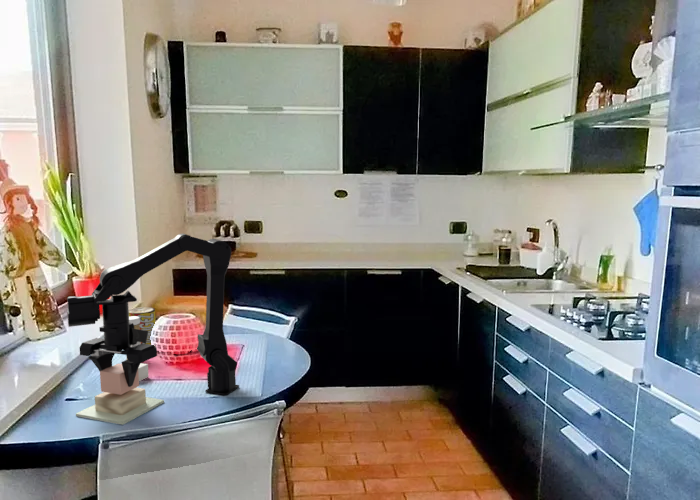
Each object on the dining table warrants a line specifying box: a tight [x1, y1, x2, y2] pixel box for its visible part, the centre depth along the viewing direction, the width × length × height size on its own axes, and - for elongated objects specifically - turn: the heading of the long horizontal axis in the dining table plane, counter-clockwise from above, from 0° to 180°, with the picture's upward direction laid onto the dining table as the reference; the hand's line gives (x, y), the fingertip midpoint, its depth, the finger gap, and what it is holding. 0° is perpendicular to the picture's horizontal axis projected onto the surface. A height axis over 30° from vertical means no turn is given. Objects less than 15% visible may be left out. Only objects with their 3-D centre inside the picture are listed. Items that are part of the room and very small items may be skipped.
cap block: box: [138, 362, 149, 382], centre depth 156 cm, size 4×4×4 cm
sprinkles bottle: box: [125, 316, 141, 360], centre depth 172 cm, size 5×5×14 cm
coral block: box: [99, 363, 140, 395], centre depth 135 cm, size 6×6×5 cm
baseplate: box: [75, 396, 165, 426], centre depth 136 cm, size 14×14×1 cm
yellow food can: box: [128, 306, 156, 345], centre depth 189 cm, size 9×9×12 cm
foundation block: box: [94, 387, 147, 415], centre depth 136 cm, size 8×8×4 cm
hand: (120, 384), depth 135 cm, fingers closed on coral block, 6 cm apart
